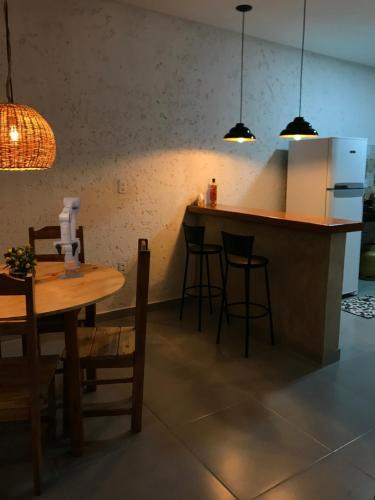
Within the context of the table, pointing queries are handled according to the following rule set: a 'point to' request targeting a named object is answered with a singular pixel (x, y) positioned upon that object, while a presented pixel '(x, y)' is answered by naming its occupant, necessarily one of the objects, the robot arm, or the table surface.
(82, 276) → the baseplate
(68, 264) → the terracotta brick
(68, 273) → the walnut brick
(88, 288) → the table surface
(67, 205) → the robot arm
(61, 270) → the table surface
